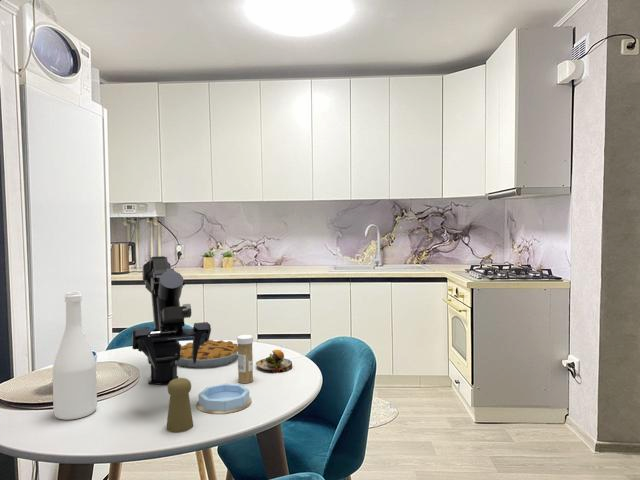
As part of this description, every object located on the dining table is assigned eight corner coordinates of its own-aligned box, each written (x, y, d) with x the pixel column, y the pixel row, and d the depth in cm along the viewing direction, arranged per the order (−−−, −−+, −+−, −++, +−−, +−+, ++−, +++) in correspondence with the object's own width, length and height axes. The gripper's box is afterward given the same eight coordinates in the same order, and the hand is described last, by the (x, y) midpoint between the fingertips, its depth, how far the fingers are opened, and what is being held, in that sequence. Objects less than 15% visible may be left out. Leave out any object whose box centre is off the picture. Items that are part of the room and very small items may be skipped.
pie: (243, 350, 172) (243, 337, 172) (234, 369, 150) (234, 354, 150) (183, 351, 171) (183, 337, 171) (165, 370, 149) (165, 354, 149)
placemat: (187, 412, 116) (187, 410, 116) (209, 391, 130) (209, 390, 130) (241, 415, 114) (241, 414, 114) (258, 394, 127) (258, 393, 127)
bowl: (192, 409, 117) (192, 399, 117) (211, 391, 128) (211, 382, 128) (238, 412, 115) (238, 402, 115) (253, 394, 127) (253, 385, 126)
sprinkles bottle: (255, 381, 138) (255, 336, 137) (241, 384, 135) (241, 338, 135) (249, 377, 142) (248, 333, 141) (235, 380, 139) (234, 335, 138)
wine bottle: (67, 424, 109) (64, 296, 108) (45, 415, 114) (42, 293, 113) (105, 410, 117) (102, 291, 116) (83, 402, 122) (80, 288, 121)
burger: (259, 362, 158) (259, 340, 157) (293, 362, 157) (293, 341, 157) (252, 374, 146) (252, 350, 145) (290, 374, 145) (290, 350, 145)
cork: (168, 434, 104) (167, 385, 103) (164, 424, 109) (163, 377, 109) (196, 429, 106) (195, 381, 106) (190, 419, 112) (189, 373, 111)
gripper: (131, 295, 113) (135, 352, 104) (209, 291, 121) (218, 343, 112) (130, 321, 121) (133, 376, 111) (203, 315, 129) (212, 366, 119)
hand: (175, 365), depth 113 cm, fingers open, 9 cm apart
